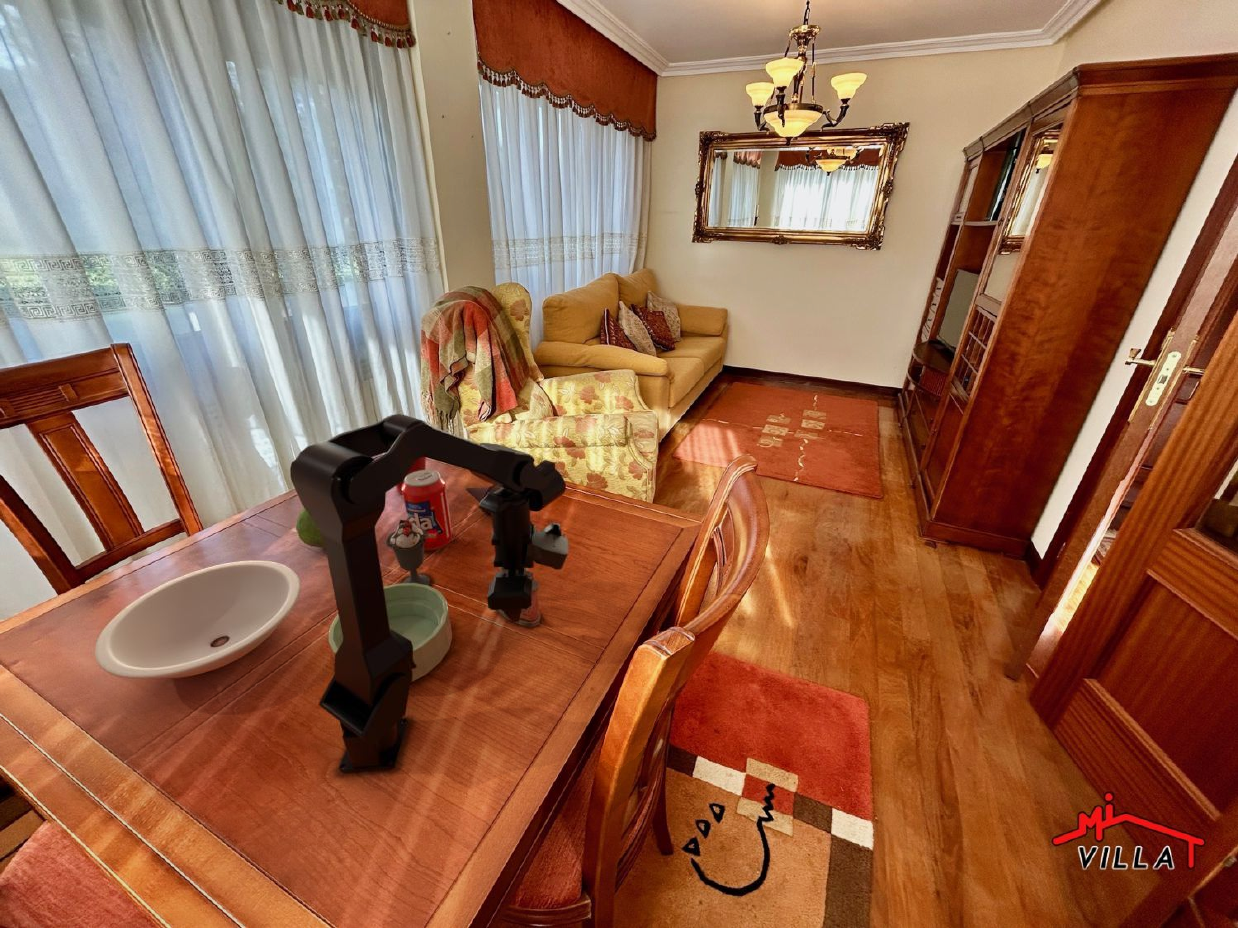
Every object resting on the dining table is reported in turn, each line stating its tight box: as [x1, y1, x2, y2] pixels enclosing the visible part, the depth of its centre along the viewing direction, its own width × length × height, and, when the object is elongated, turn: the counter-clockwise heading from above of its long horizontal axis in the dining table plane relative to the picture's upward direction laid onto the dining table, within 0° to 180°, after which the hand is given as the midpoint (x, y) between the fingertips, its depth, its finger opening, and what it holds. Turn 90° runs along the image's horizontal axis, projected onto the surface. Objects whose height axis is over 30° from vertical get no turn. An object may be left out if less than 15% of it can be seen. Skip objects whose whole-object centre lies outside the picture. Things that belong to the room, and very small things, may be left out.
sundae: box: [385, 517, 431, 586], centre depth 87 cm, size 7×7×15 cm
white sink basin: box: [94, 559, 301, 680], centre depth 75 cm, size 24×24×7 cm
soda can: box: [402, 469, 453, 551], centre depth 98 cm, size 8×8×15 cm
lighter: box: [494, 567, 541, 628], centre depth 82 cm, size 8×3×10 cm, turn 62°
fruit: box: [295, 507, 325, 549], centre depth 100 cm, size 15×10×10 cm, turn 163°
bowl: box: [328, 582, 453, 683], centre depth 76 cm, size 16×16×6 cm
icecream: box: [465, 484, 502, 515], centre depth 111 cm, size 7×7×15 cm
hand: (517, 603), depth 83 cm, fingers open, 8 cm apart
